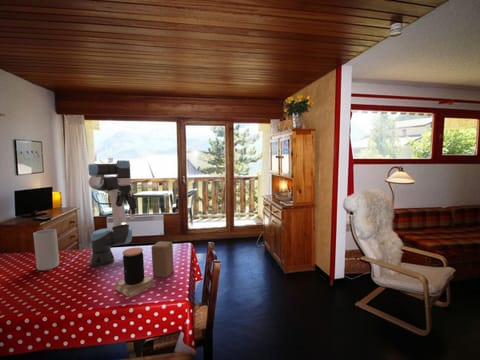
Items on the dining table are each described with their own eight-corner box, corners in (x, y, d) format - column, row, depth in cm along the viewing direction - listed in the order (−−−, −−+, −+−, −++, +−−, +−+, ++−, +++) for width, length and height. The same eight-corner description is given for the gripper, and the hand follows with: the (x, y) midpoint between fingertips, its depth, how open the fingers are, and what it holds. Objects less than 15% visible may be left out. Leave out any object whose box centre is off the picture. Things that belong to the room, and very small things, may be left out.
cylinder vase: (32, 269, 172) (28, 233, 169) (52, 261, 183) (48, 228, 181) (44, 272, 167) (40, 235, 164) (63, 264, 179) (60, 230, 176)
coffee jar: (128, 276, 150) (126, 247, 149) (146, 275, 151) (145, 247, 149) (121, 286, 140) (119, 255, 138) (141, 285, 141) (139, 254, 139)
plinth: (115, 289, 144) (115, 282, 144) (139, 278, 156) (138, 272, 156) (130, 297, 136) (130, 290, 135) (154, 285, 148) (153, 279, 147)
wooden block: (167, 278, 156) (165, 247, 154) (152, 276, 158) (150, 246, 156) (174, 270, 166) (173, 241, 164) (160, 269, 168) (158, 240, 166)
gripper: (108, 184, 163) (110, 216, 165) (130, 186, 148) (132, 221, 151) (119, 182, 169) (121, 213, 171) (141, 185, 155) (143, 219, 157)
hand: (126, 217), depth 161 cm, fingers open, 13 cm apart
